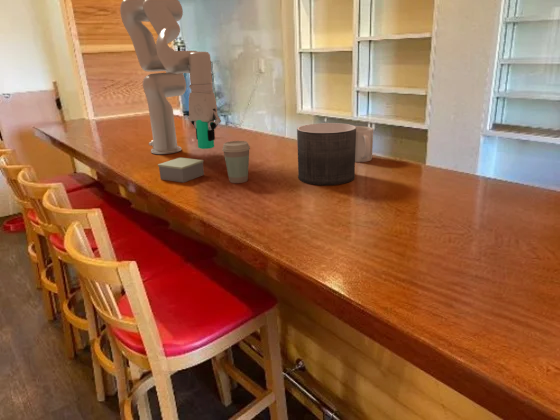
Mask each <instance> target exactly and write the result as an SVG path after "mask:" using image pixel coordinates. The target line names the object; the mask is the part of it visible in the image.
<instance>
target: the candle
mask: <svg viewBox="0 0 560 420" xmlns="http://www.w3.org/2000/svg"><path fill="white" fill-rule="evenodd" d="M211 121H212V120H211ZM211 125H212V122H211ZM196 128H197V139H196V140H197V148H198V149H200V150H208V149H213V148H214V147H215V140H212V141H208V130H209V129H208V123H207V122H202V121H201V120H197V121H196Z"/></svg>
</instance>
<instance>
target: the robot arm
mask: <svg viewBox="0 0 560 420" xmlns="http://www.w3.org/2000/svg"><path fill="white" fill-rule="evenodd" d="M119 11H120V17H121V21H122V24H123V26H124V28H125V31H126V32H127V34H128V36H129V37H130V39H131V41H132V45H133V48H134V49H133V50H134V52H135V55H136V57H137V60H138V63H139V66H140V68H141V70H143V71H145V72H150V73H149V74H146V76H144V77H143V80H142V88H143V91H144V95H145V98H146V103H147V107H148V113H149V118H150V119H149V120H150V128H151V132H152V133H151V134H152V140H150V141H149V142H148V145H149V146H152V148H151V149H150V153H151V154H153V155H167V154H174V153H179V152H181V151H182V147H181V146H179V145H178V143H177V142H178V141H177V134H176V133H177V132H176V126H175V125H176V124H175V116H174V110H173V107H172V104H171V103H170V102H169V100H168V99H167V98H171V97H179V96H183V95H184V94H185V93H186V90H187V83H186V78H185V75H184V74H189V80H190V85H189V86H188V87H189V89H190V90H191V91H190V92H189V97H188V116H187V119H188V120H189V122H190V123H191V124H192V126H193V129H194V130H195V136H196V140H197V128H196V121H197V120H201V121H202V122H207V123H208V129H209V130H208V141H212V140H214V141H215V140H216V136H215V135H216V134H215V130H216V128H217V127H218V125H219V124H220V123H221V122H222V120H221V118H220V117H219V115H218V107H217V105H218V104H217V100H216V95H215V93H214V92H213V91H214V90H213V89H214V88H213V78H212V77H213V76H212V75H213V74H212V62H211V61H212V60H211V54H210V53H209V52H208V51H198V50H175V49H174V48H172V47H170V45H169V44H170V43H171V42H173V41H174V40H176V39H177V38H178V37H179V35H180V33H181V27H180V24H179V21H180V20H182V17H183V15H184V14H183V13H184V12H183V7H182V4H181V2H180V1H179V0H121V3H120V10H119ZM143 22H146V23H147V22H149V23H150V24H151V26H152V27H153V30H154V31H155V32H156V34H157V39H156V41H155V38H154V35H153V34H152V32H151V30H150V29H149V28H148V27H147V26H146V25H144V24H143ZM153 72H155V73H153ZM211 120H212V121H211ZM211 122H212V125H211Z"/></svg>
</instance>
